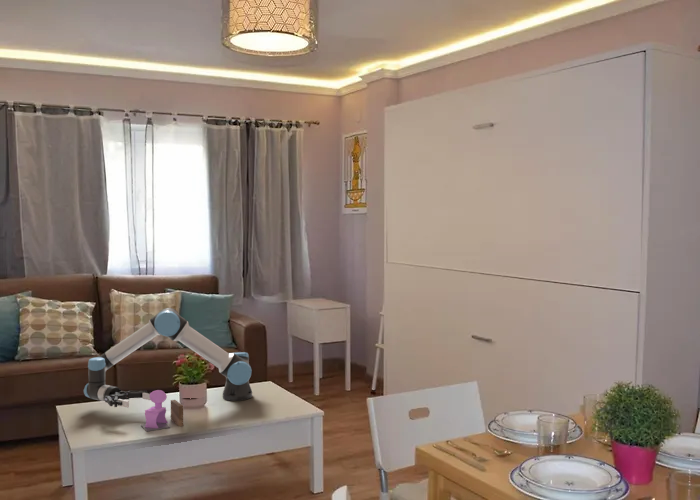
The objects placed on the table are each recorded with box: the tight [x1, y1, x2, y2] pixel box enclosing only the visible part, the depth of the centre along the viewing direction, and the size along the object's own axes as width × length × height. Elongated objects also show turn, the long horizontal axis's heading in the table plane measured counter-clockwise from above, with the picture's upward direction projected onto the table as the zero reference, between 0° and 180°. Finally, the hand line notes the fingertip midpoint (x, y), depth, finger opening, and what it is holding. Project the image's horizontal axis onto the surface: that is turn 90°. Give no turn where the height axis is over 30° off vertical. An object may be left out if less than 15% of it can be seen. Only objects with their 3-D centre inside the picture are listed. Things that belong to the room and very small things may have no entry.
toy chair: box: [144, 389, 168, 428], centre depth 291 cm, size 8×9×15 cm
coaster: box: [140, 422, 171, 432], centre depth 292 cm, size 10×10×1 cm
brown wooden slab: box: [170, 399, 184, 427], centre depth 297 cm, size 2×12×9 cm, turn 32°
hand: (140, 400), depth 296 cm, fingers open, 13 cm apart
